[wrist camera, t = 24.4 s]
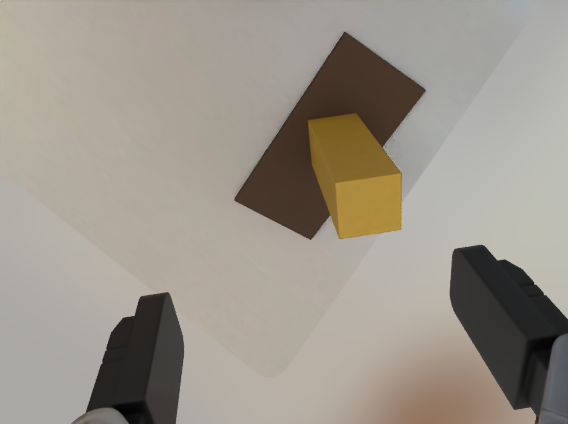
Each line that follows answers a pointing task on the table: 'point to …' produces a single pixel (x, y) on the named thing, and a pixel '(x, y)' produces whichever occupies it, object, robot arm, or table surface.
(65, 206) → the table surface
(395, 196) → the block
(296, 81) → the table surface
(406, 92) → the mat
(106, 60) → the table surface
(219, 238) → the table surface
